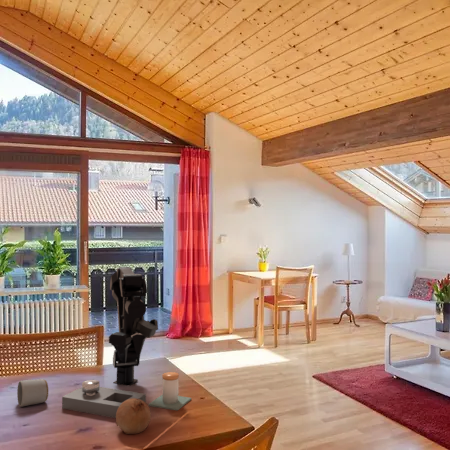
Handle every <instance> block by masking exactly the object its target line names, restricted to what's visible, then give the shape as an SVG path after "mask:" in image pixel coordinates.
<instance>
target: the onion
mask: <svg viewBox="0 0 450 450" xmlns="http://www.w3.org/2000/svg"><path fill="white" fill-rule="evenodd" d="M151 416H152V414H151V409H150V406H148V404H147V403H145V402H144V401H142V400H140V399H136V398H132V399H128V400H126V401H124V402H123V403H122V404H121V405H120V406H119V408H118V410H117V413H116V418H115V420H116V421H115V425H116V426H117V427H119V429H120V430H121V431H122V432H123V433H124V434H127V435H132V434H133V435H134V434H135V435H136V434H139V433H142V432H143V431H145V430H146V428H147V427H148V426H149V424H150V422H151V418H152V417H151Z"/></svg>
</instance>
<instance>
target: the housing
mask: <svg viewBox="0 0 450 450" xmlns="http://www.w3.org/2000/svg"><path fill="white" fill-rule="evenodd" d="M146 397H147V396H146V393H142V392H136V391H130V390H124V389H116V388H110V387H103V386H99V391H98V392H95V395H93V396H90V395H86V393H84V392H82V386H81V387H79V388H77V389H75V390H73V391H71V392H69V393H67V394H65V395H63V396H62V397H61V400H62V401H61V406H62V407H61V409H63V410H67V411H68V410H70V411H74V412H75V411H76V412H80V413H86V414H89V415H90V414H91V415H95V416H96V415H97V416H102V417H107V418H108V417H109V418H114V419H116V413H117V410H118V408H119V406H120V405H121V404H122V403H123V402H124V401H126V400H128V399H132V398H136V399H140V400H142V401H144V402H145V403H146V401H147V400H146ZM146 404H147V403H146Z"/></svg>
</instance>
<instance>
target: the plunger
mask: <svg viewBox="0 0 450 450" xmlns="http://www.w3.org/2000/svg"><path fill="white" fill-rule="evenodd" d="M81 383H82V384H81V387H82V392H84V393H86V395H90V396H93V395H95V392H98V391H99V387H100V381H99V380H97V379H88V380H85V381H83V382H81Z"/></svg>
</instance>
